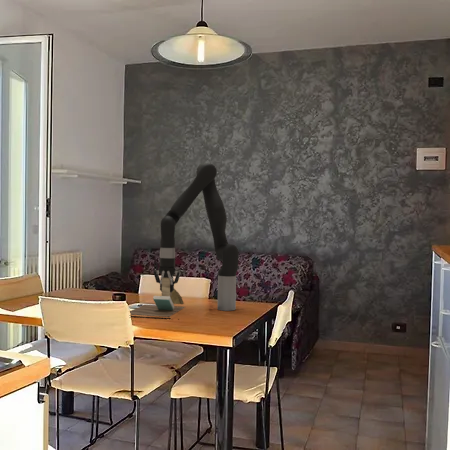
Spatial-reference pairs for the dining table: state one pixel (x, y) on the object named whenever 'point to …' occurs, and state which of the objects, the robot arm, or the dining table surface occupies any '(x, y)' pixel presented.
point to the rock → (176, 298)
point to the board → (154, 312)
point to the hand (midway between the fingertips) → (166, 291)
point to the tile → (163, 302)
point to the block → (166, 287)
